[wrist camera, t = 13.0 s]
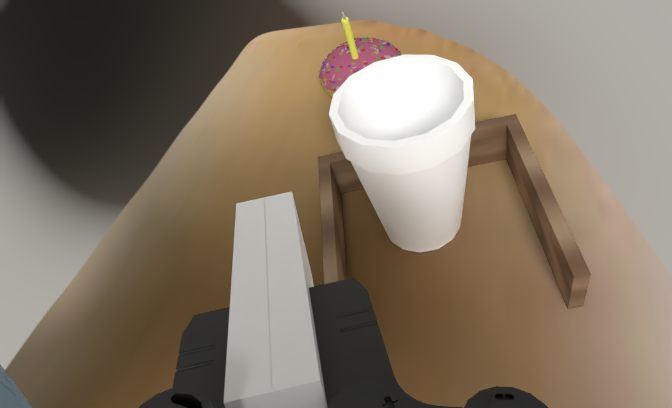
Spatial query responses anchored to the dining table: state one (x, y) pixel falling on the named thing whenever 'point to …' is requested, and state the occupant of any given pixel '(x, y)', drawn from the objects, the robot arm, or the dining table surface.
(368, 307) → the robot arm
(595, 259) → the dining table surface
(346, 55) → the cupcake
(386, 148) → the foam cup
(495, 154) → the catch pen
